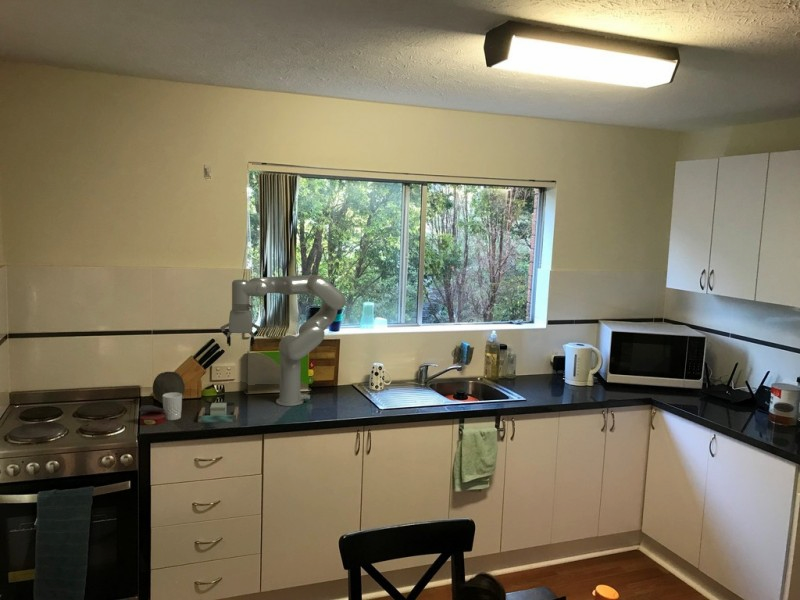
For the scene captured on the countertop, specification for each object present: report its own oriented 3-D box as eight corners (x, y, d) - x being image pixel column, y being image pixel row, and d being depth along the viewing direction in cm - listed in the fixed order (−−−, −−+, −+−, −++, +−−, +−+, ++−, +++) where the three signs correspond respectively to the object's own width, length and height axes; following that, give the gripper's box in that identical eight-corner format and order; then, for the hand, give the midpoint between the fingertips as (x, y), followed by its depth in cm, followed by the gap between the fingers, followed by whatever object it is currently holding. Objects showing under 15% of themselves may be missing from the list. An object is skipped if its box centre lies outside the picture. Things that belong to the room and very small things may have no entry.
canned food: (139, 434, 265) (130, 412, 265) (160, 425, 273) (150, 404, 273) (153, 427, 258) (144, 404, 259) (174, 418, 266) (164, 396, 267)
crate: (226, 416, 277) (226, 402, 277) (225, 420, 271) (225, 406, 270) (211, 416, 276) (211, 402, 276) (210, 421, 270) (210, 407, 269)
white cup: (163, 421, 267) (162, 398, 266) (162, 416, 274) (161, 393, 273) (183, 419, 270) (183, 396, 269) (181, 414, 278) (181, 391, 276)
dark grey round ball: (192, 402, 295) (191, 370, 293) (169, 410, 282) (168, 377, 280) (168, 398, 300) (168, 367, 298) (145, 406, 288) (144, 373, 286)
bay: (238, 412, 283) (238, 406, 282) (236, 421, 270) (236, 415, 270) (202, 413, 280) (202, 407, 280) (197, 422, 267) (197, 416, 267)
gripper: (260, 306, 290) (260, 343, 292) (221, 306, 287) (221, 343, 289) (260, 309, 283) (260, 347, 285) (219, 308, 280) (219, 347, 282)
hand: (240, 345), depth 287 cm, fingers open, 9 cm apart
